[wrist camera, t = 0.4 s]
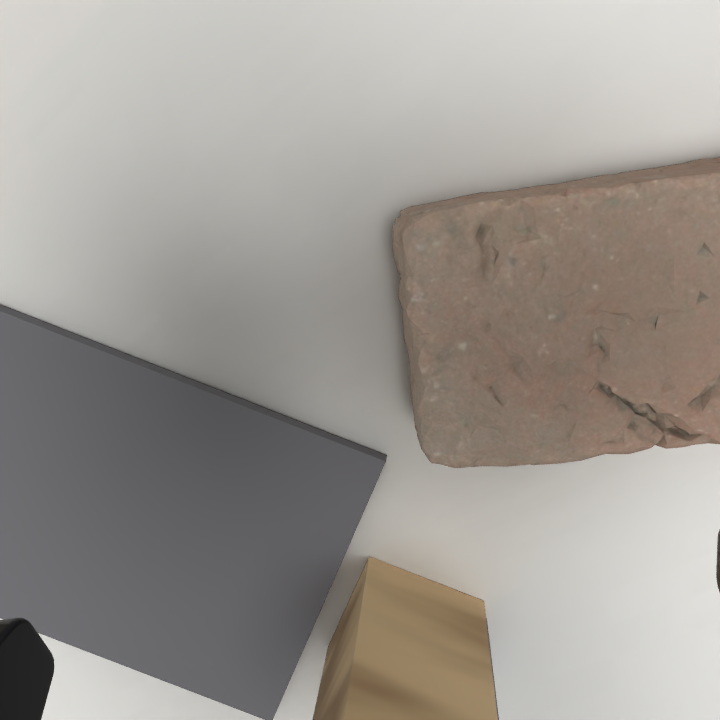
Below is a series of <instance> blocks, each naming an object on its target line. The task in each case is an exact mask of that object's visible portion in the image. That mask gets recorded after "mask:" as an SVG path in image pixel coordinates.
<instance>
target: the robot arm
mask: <svg viewBox="0 0 720 720" xmlns="http://www.w3.org/2000/svg"><path fill="white" fill-rule="evenodd" d="M716 578H717V584H718V589H719V592H720V531H719V533H718V545H717V572H716ZM53 673H54V659H53V656H52V654H51V652H50V650H49V649H48V647H47V646H46V645H45V643H44V642H43V640H42V639H41V637H40V636H39V634H38V633H37V631H36V630H35V628H34V627H33V626H32V624H31V623H30V622H29V621H28V620H26V619H24V618H13V619H6V620H0V720H41V718H42V714H43V710H44V707H45V703H46V699H47V696H48V692H49V688H50V685H51V681H52V677H53Z"/></svg>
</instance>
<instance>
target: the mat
mask: <svg viewBox="0 0 720 720" xmlns="http://www.w3.org/2000/svg"><path fill="white" fill-rule="evenodd" d="M386 456H387V455H384V454H382V453H379V452H376V451H374V450H371V449H369V448H366V447H364V446H361V445H358V444H356V443H353V442H351V441H348V440H346V439H343V438H341V437H338V436H335V435H333V434H330V433H328V432H325V431H323V430H320V429H317V428H315V427H312V426H310V425H307V424H305V423H302V422H300V421H297V420H294V419H292V418H289V417H287V416H284V415H282V414H279V413H276V412H274V411H271V410H269V409H266V408H264V407H261V406H259V405H256V404H253V403H251V402H248V401H246V400H243V399H241V398H238V397H235V396H233V395H230V394H228V393H225V392H223V391H220V390H218V389H215V388H212V387H210V386H207V385H205V384H202V383H200V382H197V381H194V380H192V379H189V378H187V377H184V376H182V375H179V374H177V373H174V372H171V371H169V370H166V369H164V368H161V367H159V366H156V365H153V364H151V363H148V362H146V361H143V360H141V359H138V358H136V357H133V356H130V355H128V354H125V353H123V352H120V351H118V350H115V349H112V348H110V347H107V346H105V345H102V344H100V343H97V342H95V341H92V340H89V339H87V338H84V337H82V336H79V335H77V334H74V333H71V332H69V331H66V330H64V329H61V328H59V327H56V326H54V325H51V324H48V323H46V322H43V321H41V320H38V319H36V318H33V317H30V316H28V315H25V314H23V313H20V312H18V311H15V310H12V309H10V308H7V307H5V306H2V305H0V618H1V619H4V620H6V619H13V618H24V619H26V620H28V621H29V622H30V623H31V624H32V626H33V627H34V628H35V630H36V631H37V632H38V633H40V634H43V635H46V636H48V637H51V638H53V639H56V640H59V641H61V642H64V643H66V644H69V645H72V646H74V647H77V648H80V649H82V650H85V651H87V652H90V653H93V654H95V655H98V656H100V657H103V658H106V659H108V660H111V661H113V662H116V663H119V664H121V665H124V666H126V667H129V668H132V669H134V670H137V671H140V672H142V673H145V674H147V675H150V676H153V677H155V678H158V679H160V680H163V681H166V682H168V683H171V684H173V685H176V686H179V687H181V688H184V689H186V690H189V691H192V692H194V693H197V694H200V695H202V696H205V697H207V698H210V699H213V700H215V701H218V702H220V703H223V704H226V705H228V706H231V707H233V708H236V709H239V710H241V711H244V712H247V713H249V714H252V715H254V716H257V717H260V718H262V719H265V720H273V718H274V715H275V713H276V711H277V708H278V706H279V704H280V702H281V699H282V697H283V695H284V692H285V690H286V688H287V686H288V683H289V681H290V679H291V676H292V674H293V672H294V670H295V667H296V665H297V663H298V660H299V658H300V656H301V654H302V651H303V649H304V647H305V645H306V642H307V640H308V638H309V635H310V633H311V631H312V629H313V626H314V624H315V622H316V619H317V617H318V615H319V613H320V610H321V608H322V606H323V603H324V601H325V599H326V597H327V594H328V592H329V590H330V587H331V585H332V583H333V581H334V578H335V576H336V574H337V571H338V569H339V567H340V565H341V562H342V560H343V558H344V555H345V553H346V551H347V549H348V546H349V544H350V542H351V539H352V537H353V535H354V533H355V530H356V528H357V526H358V523H359V521H360V519H361V517H362V514H363V512H364V510H365V507H366V505H367V503H368V501H369V498H370V496H371V494H372V492H373V489H374V487H375V485H376V482H377V480H378V478H379V476H380V473H381V471H382V469H383V466H384V464H385V462H386Z"/></svg>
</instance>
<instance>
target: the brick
mask: <svg viewBox="0 0 720 720" xmlns="http://www.w3.org/2000/svg"><path fill="white" fill-rule="evenodd" d="M393 252H394V259H395V263H396V266H397V270H398V272H399V273H400V275H401V278H400V279H401V282H400V286H399V301H400V303H401V305H402V308H403V327H404V339H405V343H406V346H407V349H408V354H409V360H410V381H411V395H412V405H413V412H414V421H415V428H416V430H417V436H418V439H419V442H420V446H421V449H422V450H423V452H424V453H425V455H426V456H427V458H428V459H429V461H430V462H431V463H436V464H443V465H445V466H449V467H453V468H461V467H476V466H516V465H527V464H530V465H540V464H557V463H565V462H573V461H580V460H584V459H588V458H592V457H595V456H599V455H603V454H630V453H634V452H638V451H642V450H645V449H649V448H651V447H653V446H654V445H657V446H660V447H663V448H678V447H686V446H690V445H695V444H705V443H713V444H720V158H711V159H699V160H695V161H691V162H687V163H683V164H675V165H668V166H663V167H658V168H652V169H643V170H636V171H629V172H623V173H619V174H614V175H601V176H596V177H591V178H586V179H580V180H575V181H570V182H566V183H559V184H551V185H542V186H535V187H527V188H522V189H516V190H508V191H499V192H486V193H477V194H472V195H467V196H462V197H458V198H453V199H448V200H444V201H439V202H434V203H429V204H423V205H418V206H411V207H408V208H406V209H404V210H402V211H400V217H398V218H397V219H395V224H394V226H393Z"/></svg>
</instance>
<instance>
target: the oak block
mask: <svg viewBox="0 0 720 720" xmlns="http://www.w3.org/2000/svg"><path fill="white" fill-rule="evenodd" d="M313 720H499V717H498V709H497V700H496V692H495V684H494V675H493V667H492V659H491V650H490V642H489V633H488V625H487V618H486V614H485V605H484V601H483V600H480V599H478V598H475V597H472V596H470V595H467V594H465V593H462V592H460V591H457V590H454V589H452V588H449V587H447V586H444V585H442V584H439V583H436V582H434V581H431V580H429V579H426V578H423V577H421V576H418V575H416V574H413V573H411V572H408V571H405V570H403V569H400V568H398V567H395V566H393V565H390V564H387V563H385V562H382V561H380V560H377V559H375V558H372V557H369V558H368V560H367V562H366V565H365V567H364V569H363V571H362V573H361V576H360V578H359V580H358V582H357V584H356V587H355V589H354V591H353V593H352V596H351V598H350V600H349V602H348V604H347V607H346V609H345V611H344V613H343V615H342V618H341V620H340V622H339V624H338V626H337V629H336V631H335V633H334V635H333V637H332V640H331V642H330V644H329V646H328V650H327V655H326V659H325V664H324V669H323V674H322V678H321V683H320V688H319V693H318V697H317V702H316V707H315V712H314V716H313Z"/></svg>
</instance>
